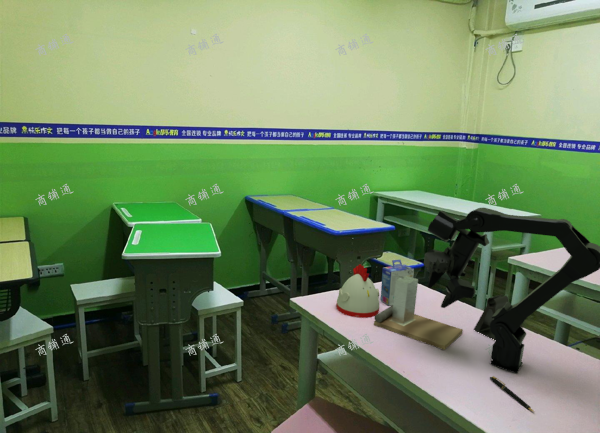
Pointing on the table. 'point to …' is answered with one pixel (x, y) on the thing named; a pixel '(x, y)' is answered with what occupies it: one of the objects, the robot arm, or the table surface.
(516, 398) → the fountain pen
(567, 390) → the table surface
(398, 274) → the ink cartridge box
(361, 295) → the kitchen timer
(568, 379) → the table surface
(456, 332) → the walnut base leaf
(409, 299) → the brushed steel block
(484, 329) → the phone stand
